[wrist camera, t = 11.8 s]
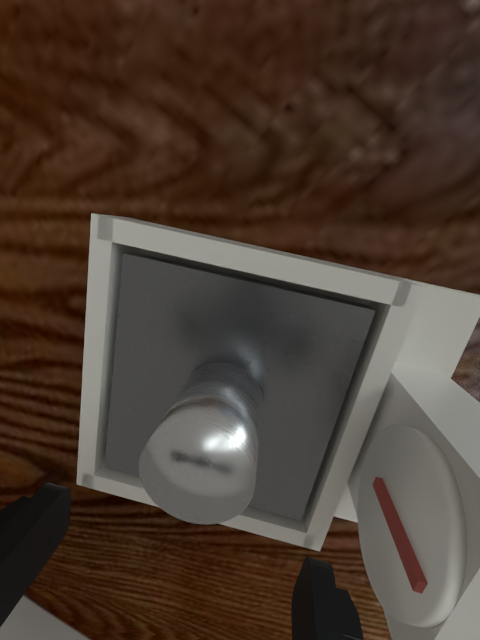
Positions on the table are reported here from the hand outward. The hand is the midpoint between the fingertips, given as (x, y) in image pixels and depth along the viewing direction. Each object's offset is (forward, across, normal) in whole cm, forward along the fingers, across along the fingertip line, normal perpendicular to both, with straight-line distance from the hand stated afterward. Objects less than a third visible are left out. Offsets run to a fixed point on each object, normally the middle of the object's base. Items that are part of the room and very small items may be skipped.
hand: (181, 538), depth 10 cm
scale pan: (+10, 0, 0) cm, 10 cm away
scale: (+12, -2, 0) cm, 12 cm away
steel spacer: (+8, 0, 0) cm, 8 cm away
